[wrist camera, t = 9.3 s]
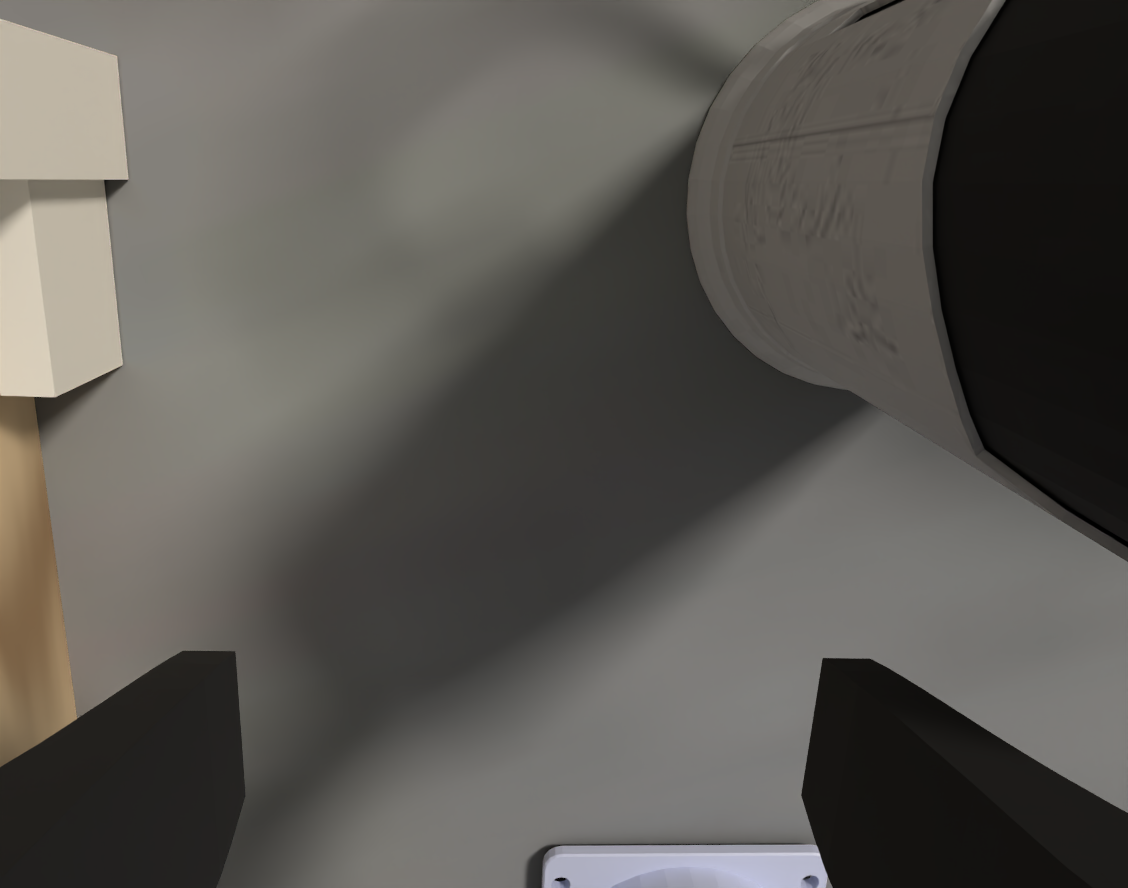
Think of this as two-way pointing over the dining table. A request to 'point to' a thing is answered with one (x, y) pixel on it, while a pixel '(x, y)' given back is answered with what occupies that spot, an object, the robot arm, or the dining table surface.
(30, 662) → the rail
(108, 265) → the post
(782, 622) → the dining table surface
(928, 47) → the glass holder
